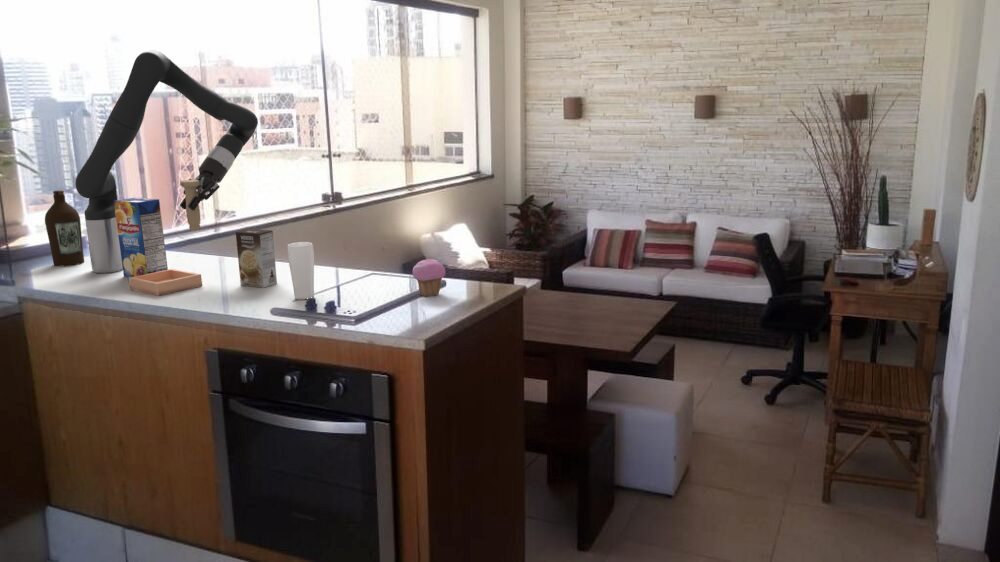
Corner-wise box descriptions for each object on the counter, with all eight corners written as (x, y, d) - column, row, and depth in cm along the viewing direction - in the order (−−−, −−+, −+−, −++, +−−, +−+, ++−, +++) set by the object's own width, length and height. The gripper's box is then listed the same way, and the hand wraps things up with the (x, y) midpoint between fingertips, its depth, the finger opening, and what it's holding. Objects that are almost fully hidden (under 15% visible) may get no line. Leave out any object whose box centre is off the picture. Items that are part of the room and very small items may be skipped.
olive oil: (47, 264, 282) (36, 191, 276) (80, 259, 289) (69, 188, 283) (57, 268, 274) (45, 193, 268) (90, 263, 281) (80, 190, 276)
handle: (193, 232, 248) (188, 182, 244) (182, 230, 252) (176, 181, 248) (207, 229, 251) (202, 180, 248) (196, 227, 255) (191, 179, 252)
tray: (130, 289, 240) (128, 277, 240) (173, 280, 251) (172, 268, 251) (158, 295, 232) (157, 283, 231) (202, 285, 243) (201, 274, 242)
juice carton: (123, 276, 258) (113, 200, 253) (144, 271, 265) (134, 197, 259) (148, 280, 252) (138, 202, 247) (168, 275, 259) (159, 199, 253)
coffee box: (239, 285, 242) (233, 231, 238) (254, 280, 247) (249, 228, 244) (264, 288, 238) (258, 233, 234) (278, 283, 243) (273, 229, 240)
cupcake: (441, 290, 229) (439, 254, 227) (450, 297, 221) (448, 260, 219) (410, 293, 226) (408, 258, 224) (418, 300, 218) (416, 263, 216)
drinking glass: (304, 302, 220) (299, 247, 217) (286, 299, 224) (281, 245, 220) (322, 296, 226) (318, 242, 222) (304, 293, 229) (300, 241, 226)
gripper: (195, 155, 256) (164, 199, 250) (222, 157, 248) (191, 202, 242) (211, 171, 262) (181, 214, 255) (239, 173, 254) (209, 217, 247)
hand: (186, 208), depth 248 cm, fingers closed on handle, 3 cm apart
